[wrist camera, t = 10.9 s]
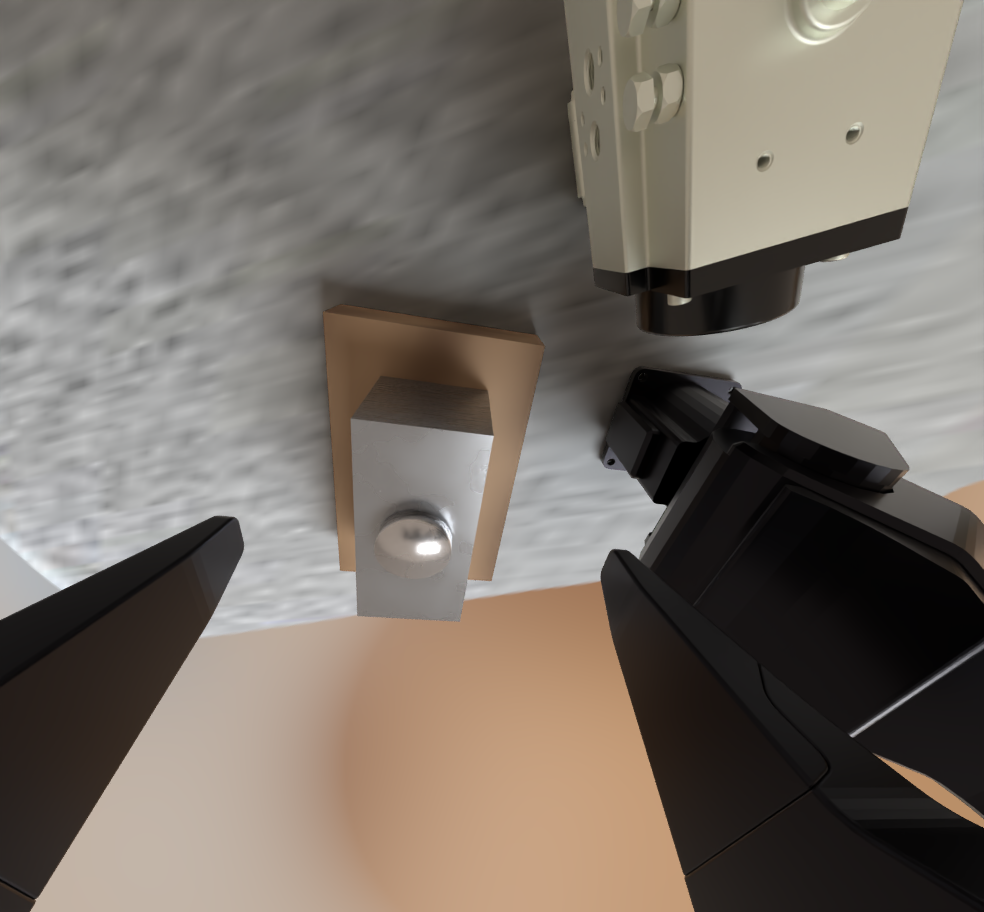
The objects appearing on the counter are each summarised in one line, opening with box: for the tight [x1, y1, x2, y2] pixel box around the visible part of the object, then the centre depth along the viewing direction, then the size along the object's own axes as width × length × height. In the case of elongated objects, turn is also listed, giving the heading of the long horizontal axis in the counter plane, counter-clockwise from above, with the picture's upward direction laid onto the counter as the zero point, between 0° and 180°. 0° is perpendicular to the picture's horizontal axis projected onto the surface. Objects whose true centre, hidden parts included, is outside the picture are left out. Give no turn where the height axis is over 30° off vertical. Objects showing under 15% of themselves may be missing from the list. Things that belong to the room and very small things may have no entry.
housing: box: [351, 376, 494, 622], centre depth 18 cm, size 11×5×6 cm, turn 171°
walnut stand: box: [323, 304, 545, 581], centre depth 21 cm, size 10×16×2 cm, turn 171°
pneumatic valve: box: [564, 0, 964, 336], centre depth 10 cm, size 6×12×12 cm, turn 15°
